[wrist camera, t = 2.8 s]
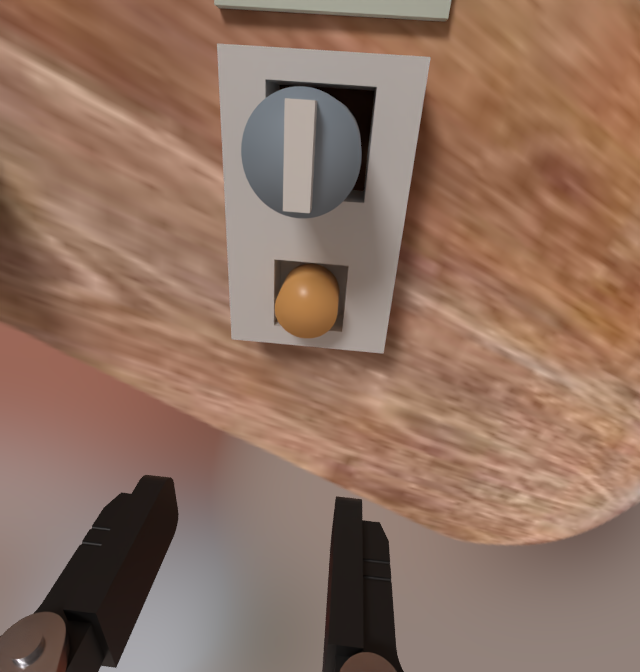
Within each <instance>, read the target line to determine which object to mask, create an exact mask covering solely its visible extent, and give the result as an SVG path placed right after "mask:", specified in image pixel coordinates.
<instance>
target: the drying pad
mask: <svg viewBox="0 0 640 672" xmlns="http://www.w3.org/2000/svg"><path fill="white" fill-rule="evenodd" d="M214 5H216V6H217V7H218V8H224V9H241V10H258V11H275V12H292V13H309V14H325V15H342V16H359V17H376V18H393V19H410V20H427V21H443V22H445V21H446V20H447V19H448V17H449V11H450V5H451V0H214Z"/></svg>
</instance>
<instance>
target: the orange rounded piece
mask: <svg viewBox="0 0 640 672" xmlns="http://www.w3.org/2000/svg"><path fill="white" fill-rule="evenodd" d="M339 293H340V290H339V284H338V281H337V279H336V277H335V276H334V275H333V273H332V272H331V271H329V270H328V269H327V268H325V267H323V266H321V265H317V264H303V265H300V266H297V267H296V268H294V269H293V270H291V271H290V272H289V274H288V275H287V277H286V278H285V281H284V283H283V285H282V287H281V290H280V292H279V294H278V296H277V299H276V302H275V315H276V318H277V320H278V322H279V324H280V325H281V326H282V327H283V329H285V330H286V331H287V332H288V333H290V334H292V335H294V336H296V337H300V338H316V337H319V336H321V335H323V334H325V333H327V332H328V331H329V330H330V329H331V328H332V326H333V325H334V323H335V321H336V318H337V312H338V303H339Z"/></svg>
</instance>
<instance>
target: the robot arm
mask: <svg viewBox="0 0 640 672" xmlns="http://www.w3.org/2000/svg"><path fill="white" fill-rule="evenodd" d="M177 523H178V507H177V501H176V494H175V488H174V482H173V479H172V478H169V477H160V476H151V475H145V476H143V477H142V478H141V479H140V481H139V482H138V484H137V486H136V487H135V489H134V491H133V492H132V494H128V493H121V494H119V495H118V496H117V497H116V498H115V499H113V500H112V501H111V502H110V503H109V504H108V505H107V506H105V507H104V508H103V510H102V511H101V513H100V514H99V516H98V518H97V519H96V521H95V522H94V524H93V525H92V529H90V530H89V532H88V533H87V535H86V536H85V538H84V539H83V542H82V544H81V545H80V546H79V547H78V549H77V550H76V552H75V553H74V555H73V556H72V558H71V559H70V561H69V562H68V564H67V566H66V567H65V569H64V570H63V572H62V573H61V575H60V576H59V578H58V580H57V581H56V583H55V584H54V586H53V587H52V589H51V590H50V592H49V594H48V595H47V596H46V598H45V600H44V601H43V603H42V604H41V605H40V607H39V608H38V609H37V610H36V611H35V612H34V614H32V615H29V616H27V617H25V618H23V619H21V620H19V621H18V622H17V623H15V624H14V625H12V626H11V627H10V628H9V629H8V630H7V631H6V632H5V633H4V634H3V635H1V636H0V672H98V671H99V669H100V667H101V666H108V667H115V668H116V667H117V664H118V662H119V660H120V658H121V655H122V653H123V651H124V648H125V646H126V644H127V642H128V639H129V637H130V635H131V632H132V630H133V628H134V626H135V623H136V621H137V619H138V616H139V614H140V612H141V610H142V607H143V605H144V603H145V601H146V598H147V596H148V594H149V591H150V589H151V587H152V584H153V582H154V580H155V578H156V575H157V573H158V571H159V569H160V566H161V564H162V562H163V559H164V557H165V555H166V553H167V550H168V548H169V545H170V543H171V541H172V539H173V537H174V534H175V531H176V527H177ZM329 562H330V563H329V577H328V593H327V608H326V625H325V639H324V654H323V670H322V672H404V671H403V670H402V667H401V665H400V663H399V659H398V656H397V650H396V639H395V627H394V626H395V625H394V611H393V597H392V583H391V569H390V554H389V541H388V539H387V537H386V535H385V533H384V531H383V528H382V526H381V524H380V523H379V522H371V521H362V499H354V498H345V497H336V500H335V509H334V518H333V526H332V535H331V547H330V561H329Z"/></svg>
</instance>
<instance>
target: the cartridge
mask: <svg viewBox="0 0 640 672" xmlns="http://www.w3.org/2000/svg"><path fill="white" fill-rule="evenodd" d="M361 156H362V151H361V139H360V130H359V126H358V123H357V120H356V118H355V117H354V115H353V113H352V112H351V111H350V110H349V109H348V108H347V107H346V106H345V105H344V104H342V103H341V102H339V101H338V100H336V99H335V98H333V97H332V96H330V95H329V94H327V93H325V92H323V91H321V90H318V89H315V88H311V87H304V86H294V87H288V88H284V89H281V90H278V91H276V92H275V93H273V94H271V95H269V96H268V97H267V98H265V99H264V100H263V101H262V102H261V103H260V104H259V105H258V106H257V107H256V108H255V110H254V111H253V112H252V114H251V116H250V117H249V119H248V121H247V124H246V126H245V129H244V133H243V137H242V143H241V157H242V164H243V169H244V172H245V175H246V178H247V180H248V182H249V184H250V186H251V188H252V189H253V191H254V192H255V194H256V195H257V196H258V197H259V199H260V200H261V201H262V202H263V203H264V204H266V205H267V206H268V207H270V208H271V209H273V210H274V211H276V212H278V213H280V214H282V215H285V216H289V217H293V218H314V217H318V216H321V215H323V214H326V213H328V212H330V211H332V210H333V209H335V208H336V207H337V206H339V205H340V204H341V203H342V202H343V201H344V200H345V199H346V198H347V196H348V195H349V194H350V192H351V190H352V189H353V187H354V185H355V183H356V181H357V178H358V175H359V171H360V166H361Z"/></svg>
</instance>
